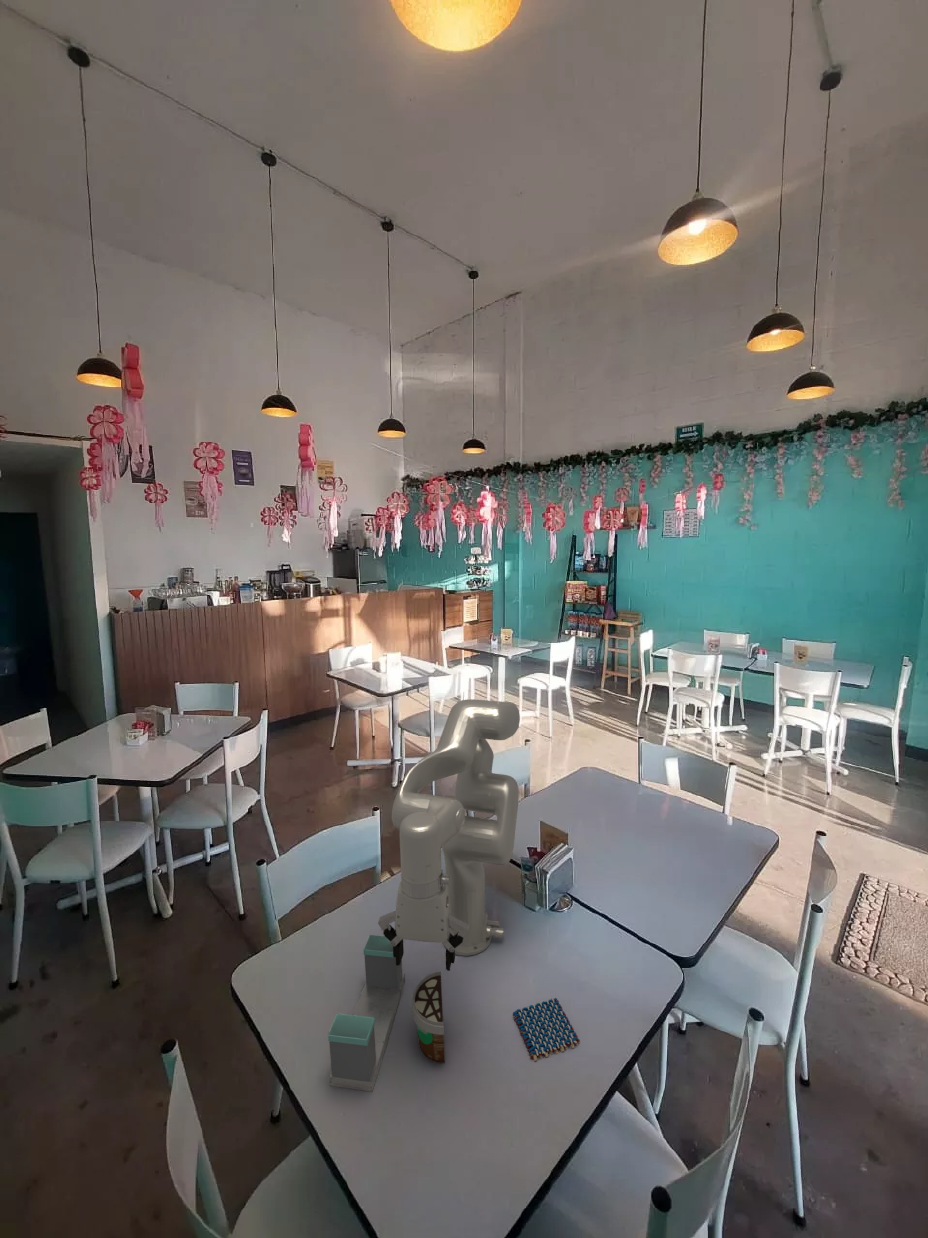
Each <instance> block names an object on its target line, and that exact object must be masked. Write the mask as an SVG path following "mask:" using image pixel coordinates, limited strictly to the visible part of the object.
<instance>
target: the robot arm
mask: <svg viewBox="0 0 928 1238" xmlns="http://www.w3.org/2000/svg"><path fill="white" fill-rule="evenodd" d="M520 722H521V715H520V711H519V707H518V706H517V705H516V704H515V703H514V702H509V701H499V700H497V701H495V700H487V699H476V698H475V699H471V698H470V699H462V700H459V701H457V702H456V703H455V704H454V705H453V706H452V707H451V708H450V710H449V714H448V716H447V718H446V721H445V723H444V728H443V730H442V732H441V735H440V738H439V741H438V743H437V746H436V749H435V750H434V751H432V752H431V753H429V754H427V755H425V756H424V757H423V758H421V759H419V760H418V761H417V762H416V763H415V764H414V765H413V766H412V767H411V768H409V770H408V771H407V772H406V774H405V775H404V777H403V778H402V781H401V783H400V785H399V789H397V790H398V791H397V792H396V796H395V798H394V801H393V805H392V809H391V821H392V824H393V826H394V827H395V828H396V829H397V830H399V849H400V851H399V852H400V878H401V879H400V880H401V881H400V882H399V885H398V888H397V893H396V894H397V896H396V901H395V902H396V903H395V904H396V905H395V911H391V912H389V913H386V914H383V915H381V916H380V917H379V919H378V921H377V924H378V926H379V928H380V929H381V931H382V932H383V933H382V934H383V936H385V937H386V938H387V939H388V940H389V941H390V944H391V946H393V957H395V958H396V965H398V966H399V965H400V963H401V960H402V961H403V956H404V953H405V951H404V947H405V946H404V940H406V941H412V942H413V941H417V942H426V943H442V945H443V946H444V947H445V971H447V972H450V971H451V967H452V964H455V960H456V955H457V956H463V957H464V956H467V957H468V956H474V955H477V954H480V953H482V952H483V951H485V950H486V949H487V948H488V947H489V945H491V942H492V939H493V937H496V938H504V934H505V932H504V931H505V928H504V927H500V921H499V920H498V921H495V920H494V921H492V920H491V919H489V914H488V912H486V873H485V867H484V864H483V863H485V864H490V865H491V864H492V865H498V866H504V865H507V864H508V863H509V862H510V861H511V860H512V856H513V853H514V852H513V851H514V846H515V839H516V838H515V837H516V829H517V828H516V827H517V819H518V817H517V816H518V811H519V796H520V795H519V794H520V793H519V792H520V791H519V785H518V781H516V779H515V778H514V777H513V776H511V775H507V774H503V773H494V772H493V764H494V758H495V756H494V751H493V749H492V746H491V745H490V744H489V742H488V740H492V741H505V740H508V739H510V738H512V737H513V736H514V735H515V734H516V733H517V731H518V730H519V726H520ZM454 775H456V782H455V787H454V798H453V797H447V796H441V795H436V794H427V793H420V791H422V789H423V788H425V787H426V786H427V785H429V784H431V783H433V782H435V781H439V780H442V779H444V778H445V779H446V778H447V777H452V776H454ZM465 811H469V812H476V813H482V814H489V815H490V814H491V815H494V816H496V819H489V818H483V817H478V816H470V815H465V813H466V812H465ZM442 854H443V858H444V868H445V873H443V869H442ZM444 874H445V875H444ZM392 923H394V927H395V928H394V927H393V926H392V925H391V924H392Z"/></svg>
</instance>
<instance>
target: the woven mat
mask: <svg viewBox="0 0 928 1238" xmlns="http://www.w3.org/2000/svg"><path fill="white" fill-rule="evenodd" d="M512 1016H513V1017H514V1018H513V1020H514V1022H515V1023H516V1024H517V1025H516V1026H517V1028H518V1031H520V1036H521V1038H522V1039H523V1042H524V1044H525V1047H526V1050H528V1051H527V1052H528V1054H529V1055H530V1056H529V1058H530V1059H531V1060H533V1061H538V1057H539V1059H541V1058H543V1055H544V1057H545V1058H548V1057H549V1055H553V1054H554V1053H555V1054H556V1055H558V1054H560V1052H561V1053H562V1052H564V1051H565V1050H568V1049H569V1046H570V1048H571V1049H573V1048H575V1046H580V1044H579V1042H580V1041H581V1040H580V1038H579V1036H578V1035H577V1032H576V1031H575V1030H574V1027H573V1025H572V1024H571V1022H570V1020H569V1018H568V1016H567V1015H566V1013H565V1011H563V1006H561V1004H560V1001H559V1000H558V998H557V997H555V998H552V997H550V999H546V1000H545V1001H544V1000H541V1002H540V1001H539V1002H538V1003H537V1002H536V1004H533V1003H532V1004H530V1005H529V1006H528V1005H527V1006H526V1007H522V1008H517V1009H516V1010H515V1011H513V1012H512ZM559 1051H560V1052H559ZM553 1052H554V1053H553Z"/></svg>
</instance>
